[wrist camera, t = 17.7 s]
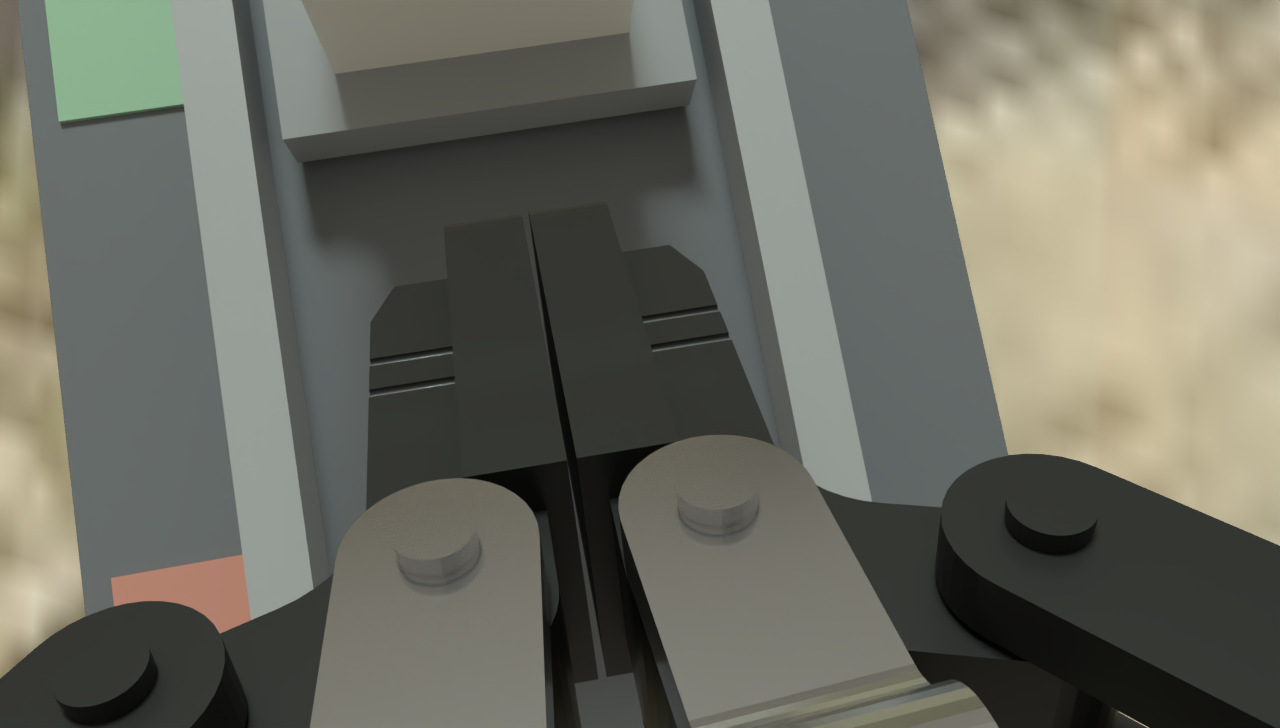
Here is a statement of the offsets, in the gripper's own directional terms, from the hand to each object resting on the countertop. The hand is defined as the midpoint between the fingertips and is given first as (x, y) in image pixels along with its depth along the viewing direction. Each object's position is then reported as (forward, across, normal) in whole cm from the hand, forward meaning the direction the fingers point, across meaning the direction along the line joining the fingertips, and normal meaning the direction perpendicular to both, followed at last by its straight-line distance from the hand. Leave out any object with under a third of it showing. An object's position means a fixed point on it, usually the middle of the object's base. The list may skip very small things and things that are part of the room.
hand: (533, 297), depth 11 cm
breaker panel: (+10, 0, +6) cm, 12 cm away
